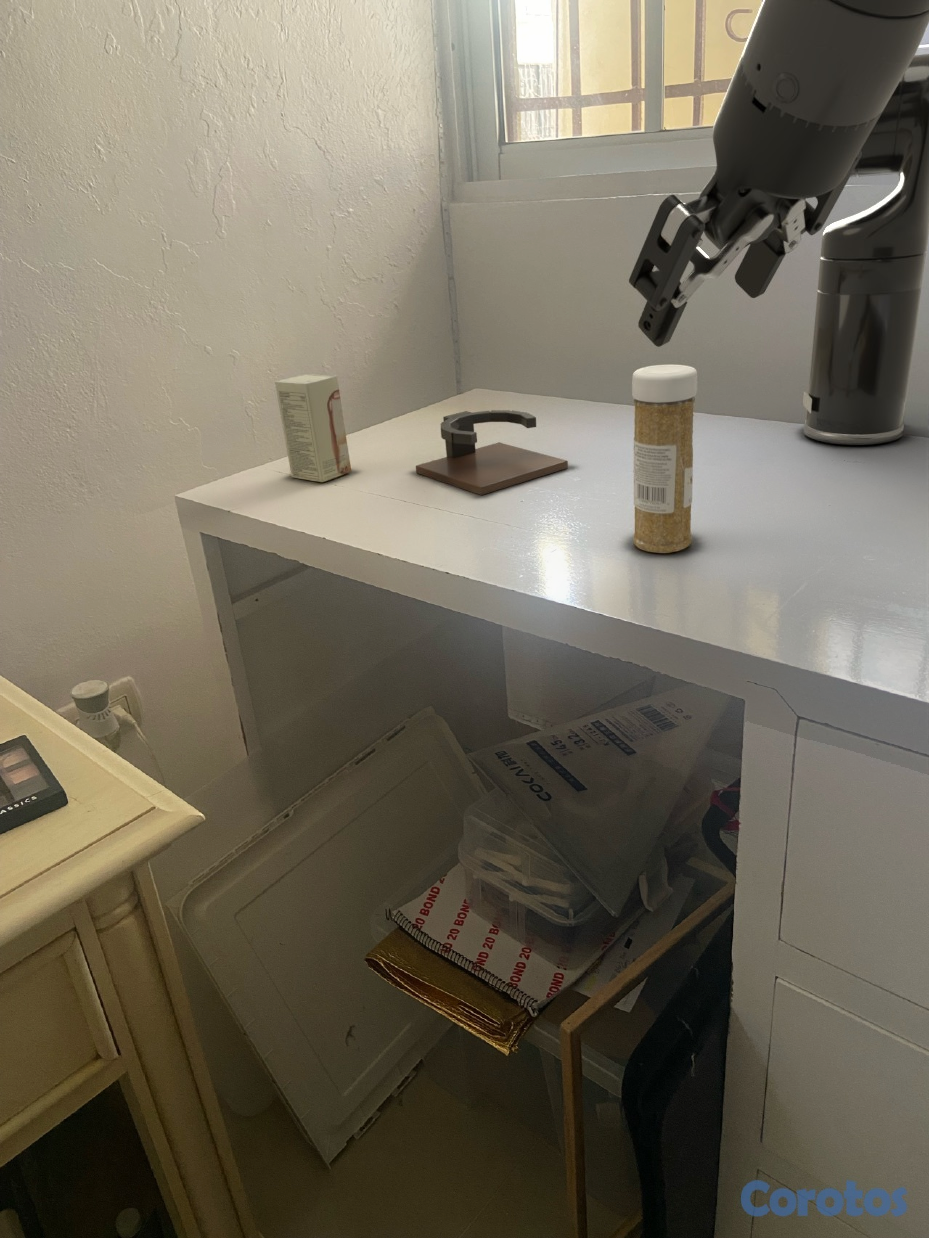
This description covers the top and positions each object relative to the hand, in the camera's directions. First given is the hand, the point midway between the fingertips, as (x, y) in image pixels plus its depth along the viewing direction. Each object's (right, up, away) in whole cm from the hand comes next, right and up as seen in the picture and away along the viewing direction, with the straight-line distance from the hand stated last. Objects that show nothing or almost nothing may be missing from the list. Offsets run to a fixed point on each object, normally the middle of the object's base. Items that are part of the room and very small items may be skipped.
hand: (700, 311), depth 59 cm
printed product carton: (-30, -5, +36) cm, 47 cm away
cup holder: (-13, -5, +33) cm, 36 cm away
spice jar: (0, -14, +12) cm, 19 cm away
